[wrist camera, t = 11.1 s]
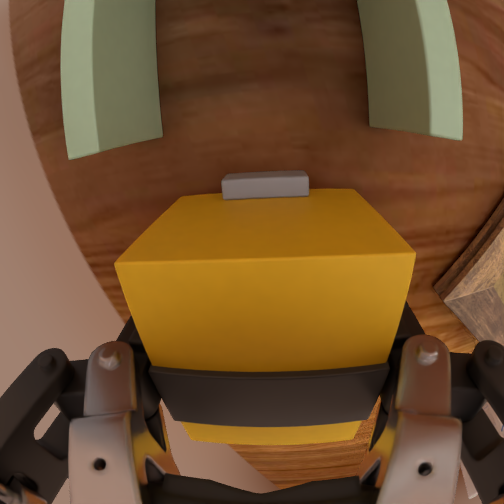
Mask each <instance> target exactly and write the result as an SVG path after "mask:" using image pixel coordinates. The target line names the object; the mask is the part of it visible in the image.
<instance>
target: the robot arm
mask: <svg viewBox="0 0 504 504" xmlns="http://www.w3.org/2000/svg"><path fill="white" fill-rule="evenodd" d="M387 361H388V363H389V366H390V371H389V373H388V376H387V378H386V381H385V383H384V385H383V388H382V390H381V392H380V398H381V400H380V403H379V405H378V408H377V412H376V416H375V420H374V424H373V428H372V432H371V435H370V439H369V442H368V446H367V449H366V452H365V455H364V458H363V460H362V462H361V464H360V466H359V468H358V471H357V473H356V475H355V476H352V477H346V478H339V479H331V480H322V481H311V482H308V483H305V484H301V485H297V486H294V487H290V488H286V489H282V490H278V491H273V492H269V493H263V494H259V493H252V492H249V491H245V490H241V489H238V488H234V487H231V486H228V485H225V484H221V483H218V482H215V481H212V480H208V479H200V478H193V477H186V476H181V475H180V472H179V470H178V468H177V466H176V464H175V462H174V460H173V457H172V453H171V449H170V445H169V441H168V436H167V431H166V426H165V421H164V416H163V410H162V407H161V405H160V401H161V396H160V394H159V392H158V390H157V388H156V386H155V384H154V382H153V380H152V378H151V376H150V374H149V372H148V370H149V368H150V365H151V361H150V359H149V357H148V355H147V352H146V350H145V348H144V345H143V343H142V340H141V338H140V336H139V333H138V331H137V328H136V326H135V323H134V320H133V318H132V315H131V316H130V318H129V320H128V321H127V323H126V325H125V326H124V328H123V330H122V332H121V333H120V335H119V337H118V339H117V340H116V341H111V342H107V343H104V344H102V345H101V346H99V347H97V348H96V349H95V350H94V351H93V352H92V353H91V355H90V357H89V359H86V360H77V361H69V359H68V358H67V356H66V354H65V353H64V352H63V351H62V350H61V349H57V348H52V349H48V350H45V351H43V352H41V353H40V354H39V355H38V356H37V357H36V358H35V359H34V360H33V361H32V362H31V363H30V364H29V365H28V366H27V367H26V369H25V370H24V371H23V372H22V373H21V374H20V375H19V376H18V378H17V379H16V380H15V381H14V382H13V383H12V384H11V386H10V387H9V388H8V389H7V390H6V392H5V393H4V394H3V395H2V396H1V398H0V504H52V502H53V500H54V499H55V497H56V495H57V494H58V492H59V490H60V489H61V487H62V486H63V484H64V482H65V480H66V479H67V478H68V479H69V492H70V504H453V502H454V498H455V492H456V486H457V479H458V473H459V465H460V459H461V461H462V463H463V465H464V467H465V468H466V470H467V472H468V474H469V476H470V478H471V480H472V482H473V484H474V487H475V489H476V491H477V493H478V495H479V497H480V499H481V501H482V504H504V438H503V437H501V436H500V435H499V433H498V432H497V430H496V428H495V427H494V425H493V424H492V422H491V421H490V419H489V417H488V416H487V414H486V413H485V411H484V410H483V408H482V407H483V406H484V405H485V404H486V402H488V403H489V404H490V406H491V407H492V409H493V410H494V412H495V413H496V415H497V416H498V418H499V419H500V421H501V423H502V424H503V426H504V346H503V345H501V344H500V343H498V342H496V341H492V340H484V341H481V342H479V343H478V344H477V345H476V347H475V349H474V351H473V352H472V354H466V353H452V352H449V350H448V348H447V346H446V345H445V344H444V343H443V342H442V341H441V340H439V339H438V338H436V337H433V336H430V335H425V333H424V331H423V329H422V327H421V326H420V324H419V322H418V320H417V319H416V317H415V315H414V313H413V312H412V310H411V308H410V307H409V305H408V303H407V302H406V301H405V305H404V308H403V312H402V316H401V319H400V322H399V326H398V329H397V332H396V335H395V338H394V342H393V345H392V348H391V350H390V353H389V356H388V359H387ZM53 403H54V405H56V407H57V408H58V409H59V410H60V411H61V412H60V413H59V415H58V416H57V417H56V419H55V420H54V422H53V423H52V424H51V426H50V427H49V428H48V430H47V431H46V433H45V434H44V436H43V437H42V438H41V439H39V440H35V438H34V429H35V427H36V426H37V424H38V423H39V422H40V420H41V419H42V418H43V416H44V415H45V414H46V412H47V411H48V410H49V408H50V407H51V406H52V404H53Z"/></svg>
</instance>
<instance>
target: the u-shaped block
mask: <svg viewBox="0 0 504 504" xmlns="http://www.w3.org/2000/svg"><path fill="white" fill-rule="evenodd" d="M357 4H358V10H359V16H360V22H361V28H362V35H363V43H364V52H365V61H366V72H367V85H368V101H369V125H370V127H375V128H384V129H391V130H398V131H405V132H411V133H417V134H423V135H428V136H434V137H441V138H447V139H452V140H458V141H460V140H462V139H463V108H462V89H461V77H460V67H459V59H458V52H457V46H456V40H455V34H454V29H453V24H452V20H451V15H450V11H449V7H448V4H447V0H357ZM61 95H62V110H63V121H64V131H65V139H66V146H67V153H68V159H69V160H73V159H77V158H81V157H84V156H88V155H92V154H96V153H100V152H103V151H107V150H110V149H114V148H118V147H122V146H126V145H130V144H134V143H138V142H142V141H147V140H151V139H156V138H161V137H163V131H162V122H161V112H160V100H159V88H158V74H157V56H156V28H155V0H65V3H64V12H63V22H62V36H61Z"/></svg>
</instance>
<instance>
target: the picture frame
mask: <svg viewBox="0 0 504 504" xmlns="http://www.w3.org/2000/svg"><path fill="white" fill-rule="evenodd" d="M433 288H434V290H435V291H436V292H437V293H438V295H439V296H440V298H441V299H442V300H443V302H444V303H445V304H446V305H447V306H448V307H449V308H450V309H451V310H452V311H453V312H454V314H455V315H456V316H457V317H458V318H459V319H460V320H461V321H462V322H463V323H464V325H465V326H466V327H467V328H468V329H469V330H470V331H471V333H472V334H473V335H474V336H475V337H476V338H477V340H478V341H479V342H481V341H484V340H492V341H496V342H498V343H500V344H501V345H503V346H504V198H503V200H502V201H501V203H500V204H499V206H498V207H497V209H496V210H495V212H494V213H493V215H492V216H491V217H490V219H489V220H488V222H487V223H486V224H485V226H484V227H483V228H482V230H481V231H480V232H479V234H478V235H477V236H476V238H475V239H474V240H473V241H472V243H471V244H470V245H469V246H468V248H467V249H466V250H465V251H464V253H463V254H462V255H461V256H460V257H459V259H458V260H457V261H456V262H455V263H454V264H453V266H452V267H451V268H450V269H449V270H448V271H447V272H446V274H445V275H444V276H443V277H442V278H441V279H440V280H439V281H438V282H437V283H436V284H435V286H434V287H433Z"/></svg>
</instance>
